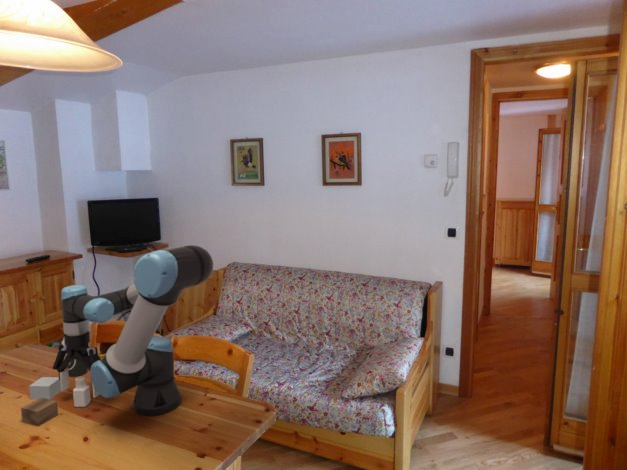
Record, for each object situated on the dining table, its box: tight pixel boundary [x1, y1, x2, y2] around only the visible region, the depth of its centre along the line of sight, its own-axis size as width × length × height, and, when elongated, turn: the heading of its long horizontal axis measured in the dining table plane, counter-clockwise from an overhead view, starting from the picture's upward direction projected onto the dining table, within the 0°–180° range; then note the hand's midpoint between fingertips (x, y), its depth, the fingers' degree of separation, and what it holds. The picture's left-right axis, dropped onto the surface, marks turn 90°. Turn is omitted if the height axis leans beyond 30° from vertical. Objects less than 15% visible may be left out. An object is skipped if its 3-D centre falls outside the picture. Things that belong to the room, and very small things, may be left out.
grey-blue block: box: [28, 376, 62, 400], centre depth 160 cm, size 7×7×5 cm
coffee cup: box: [61, 338, 88, 378], centre depth 177 cm, size 10×10×15 cm
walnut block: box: [20, 398, 59, 427], centre depth 145 cm, size 7×7×5 cm
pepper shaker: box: [72, 375, 92, 408], centre depth 153 cm, size 4×4×10 cm
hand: (80, 392), depth 153 cm, fingers open, 13 cm apart
